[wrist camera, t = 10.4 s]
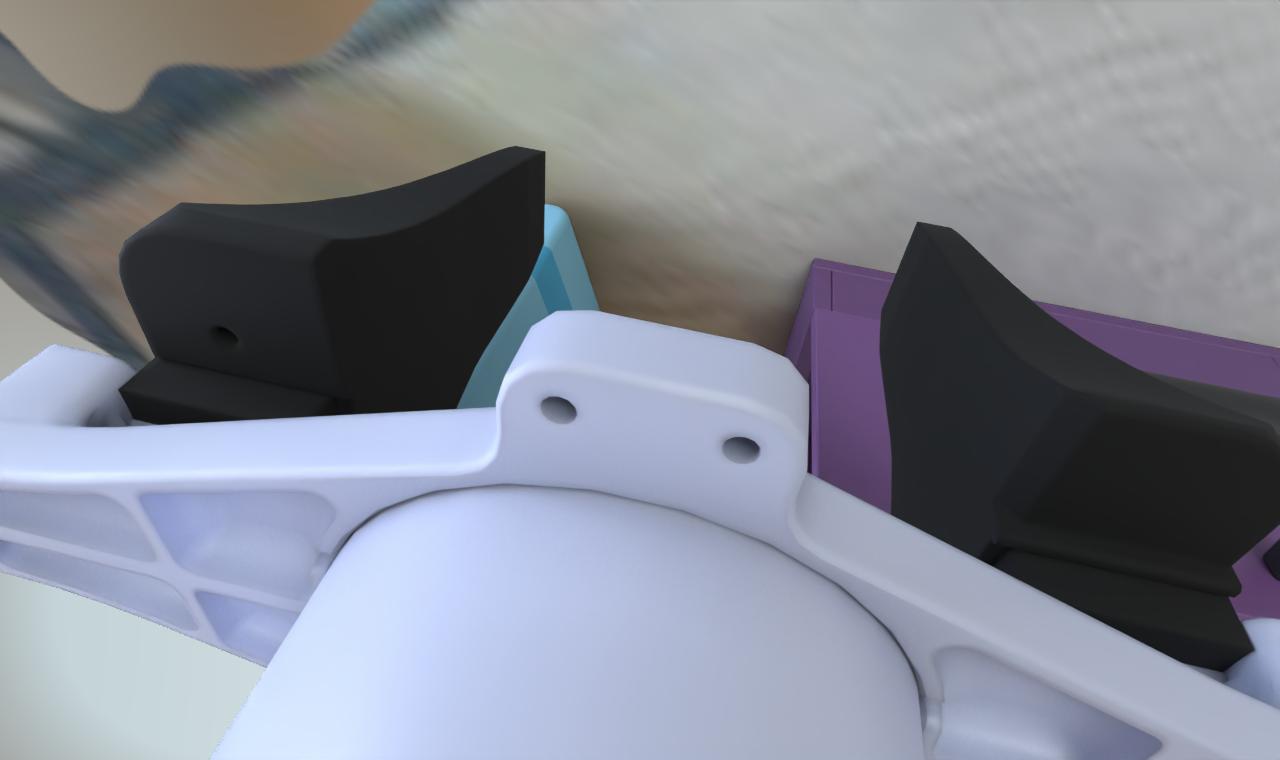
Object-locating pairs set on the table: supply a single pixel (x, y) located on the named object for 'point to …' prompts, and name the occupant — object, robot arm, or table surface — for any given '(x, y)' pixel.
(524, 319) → the data package
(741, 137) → the table surface
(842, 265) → the purple box
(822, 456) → the cover
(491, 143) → the table surface
